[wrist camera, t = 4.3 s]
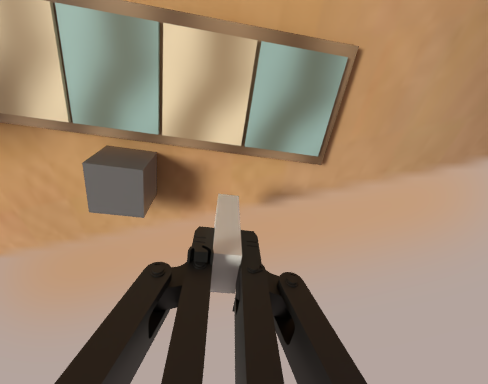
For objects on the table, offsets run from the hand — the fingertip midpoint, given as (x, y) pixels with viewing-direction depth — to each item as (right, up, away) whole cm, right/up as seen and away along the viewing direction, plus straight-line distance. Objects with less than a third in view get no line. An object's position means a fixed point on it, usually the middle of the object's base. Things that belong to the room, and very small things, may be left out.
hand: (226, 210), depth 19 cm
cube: (-8, +3, +3) cm, 9 cm away
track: (-5, +9, 0) cm, 11 cm away
